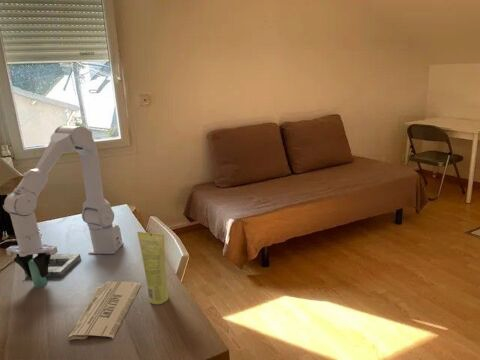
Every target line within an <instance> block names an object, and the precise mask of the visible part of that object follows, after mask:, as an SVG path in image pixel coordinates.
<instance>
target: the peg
mask: <svg viewBox="0 0 480 360" xmlns="http://www.w3.org/2000/svg"><path fill="white" fill-rule="evenodd" d="M28 265H29V268H30V272H31V276H32V277H31V279H32V283H33V287H34V288H41V287H44V286H46V285H47V283H48V282H47V281H48V280H47V278H46V276H45V277H44V278H42V277H41V275H40V272H39V269H38V267H37V265H36V263H35V262H34V261H33V259H30V260H29V261H28Z"/></svg>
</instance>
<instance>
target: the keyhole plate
mask: <svg viewBox="0 0 480 360" xmlns="http://www.w3.org/2000/svg"><path fill="white" fill-rule="evenodd" d="M81 260H82V259H81V254H80V253H72V254H71V253H56V254H55V255H51V257H50V260H49V265H51V266H48V275H46V279H47V278H51V279H54V278H55V279H56V278H57V279H62V278H63V277H64V276H65V275H66V274H68V272H69V271H70V270H72V269H73V268H74V267H75V266H76V265H77V264H79V262H80V261H81ZM52 265H62V266H52ZM23 271H24V270H23ZM24 276H25V278H29V277H28V276H27V274H26V273H25V271H24Z"/></svg>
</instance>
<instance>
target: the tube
mask: <svg viewBox="0 0 480 360" xmlns="http://www.w3.org/2000/svg"><path fill="white" fill-rule="evenodd" d="M137 238H138V243H139V247H140V253H141V257H142V262H143V268H144V274H145V279H146V280H145V281H146V286H147V294H148V298H149V299H148V300H149V303H151V304H153V305H162V304H165V303H166V302H167V301H168V300H169V292H168V291H169V290H168V283H167V282H168V281H167V269H166V258H165V257H166V256H165V233H155V232H154V233H153V232H145V231H144V232H143V231H137Z"/></svg>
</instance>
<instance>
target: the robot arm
mask: <svg viewBox="0 0 480 360" xmlns="http://www.w3.org/2000/svg"><path fill="white" fill-rule="evenodd" d="M69 151H75V152H76V153H78V154H79V156H80V157H79V159H80V165H81V171H82V178H83V184H84V186H83V187H84V191H85V198H86V200H85V201H84V202H83V203H82V212H81V218H82V221H83V222H84V223H86V224H87V227H88V230H89V236H90V240H91V244H92V248H91V249H90V250H89V251H88V254H90V255H91V254H94V255H95V254H98V255H99V254H101V255H103V254H104V255H113V254H115V253H116V252H117V251H119V249H120V248H121V247H122V246H123V245H124V241H123V238H122V233H121V228H120V226H119V225H118V224H114V223H113V222H114V220H115V212H114V211H113V208H112V206H111V203H110V202H109V201H108V200H107V199H106V198H105V195H104V190H103V189H104V188H103V180H102V173H101V172H102V171H101V167H100V159H99V151H98V146H97V143H96V142H95V140H94V138H93V132H92V130H90V129H88V128H87V127H85V126H83V125H78V126H77V125H76V126H70V125H59V126H57V127H56V129H55V130H54V132H53V133H52V134H51V135H50V140H49V143H48V145H47V146H46V148H45V150H44V152H43V154H42V155H41V157H40V159H39V161H38V163H37V164H36V166H35V168H32V169H28V170H27V171H25V172H24V173H23V174H22V179H21V180H20V182H19V184H18V185H17V186H16V187H15V188H14V189H13V191H12V193H11V194H8V195H7V196H6V197H5V199H4V203H3V204H2V208H3V209H4V211H5V212H7V213H8V214H9V216H10V219H11V223H12V228H13V231H14V234H15V238H16V242H17V245H10V246H9V247H6V248H5V251H6V254H7V256H11V255H16V256H15V257H14V258H13V261H14V262H15V263H16V264H18V265H19V266H20V267H21V269H23V271H25V273H26V274H27V276H28V277H27V278H32V276H31V272H30V268H29V265H28V261H29V260H30V259H33V261H34V262H35V263H36V265H37V267H38V269H39V272H40V275H41V277H42V278H44V277H45V276H46V275H48V267H50V266H49V265H50V264H49V260H50V257H51V255H55V254H58V252H59V251H58V247H57V245H49V244H45V243H42V239H41V235H40V231H39V230H40V229H39V227H38V222H37V217H36V215H35V212H34V211H36V209H37V205H38V202H37V200H38V198H39V196H40V193H42V190H43V189H44V188H45V186H46V184H47V182H48V181H49V177H48V173H49V172H50V171H51V169H52V168H53V167H54V166H55V164H56V163H57V162H58V160H59V158H60V157H61V156H62V154H63V153H66V152H69ZM34 255H36V256H35V257H34ZM25 273H24V274H25Z"/></svg>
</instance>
